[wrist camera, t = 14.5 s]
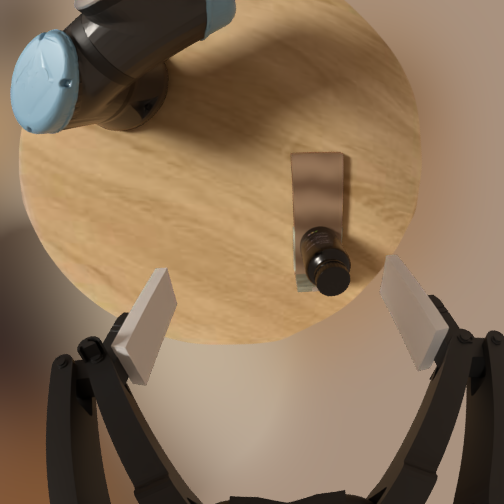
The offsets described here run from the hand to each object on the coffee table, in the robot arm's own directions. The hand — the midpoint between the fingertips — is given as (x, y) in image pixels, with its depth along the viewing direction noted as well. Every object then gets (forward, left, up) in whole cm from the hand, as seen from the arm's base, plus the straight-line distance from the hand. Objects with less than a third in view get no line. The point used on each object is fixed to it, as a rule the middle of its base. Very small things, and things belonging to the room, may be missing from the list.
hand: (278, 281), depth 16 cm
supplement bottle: (+12, +8, -29) cm, 32 cm away
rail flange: (+8, +8, -31) cm, 33 cm away
